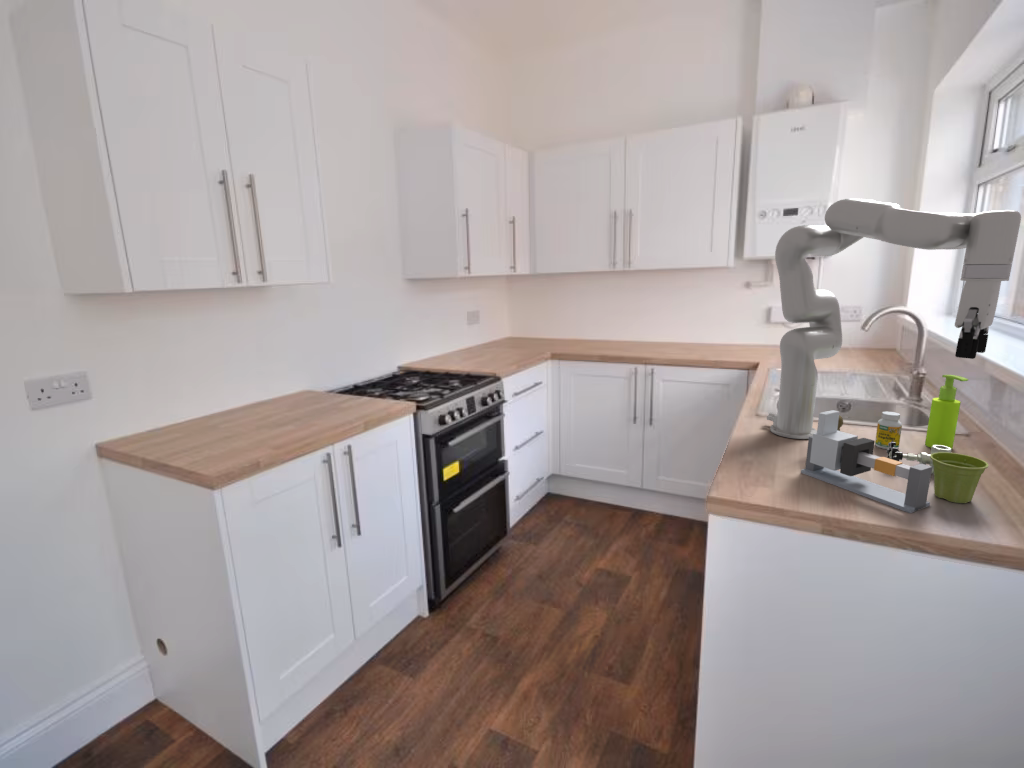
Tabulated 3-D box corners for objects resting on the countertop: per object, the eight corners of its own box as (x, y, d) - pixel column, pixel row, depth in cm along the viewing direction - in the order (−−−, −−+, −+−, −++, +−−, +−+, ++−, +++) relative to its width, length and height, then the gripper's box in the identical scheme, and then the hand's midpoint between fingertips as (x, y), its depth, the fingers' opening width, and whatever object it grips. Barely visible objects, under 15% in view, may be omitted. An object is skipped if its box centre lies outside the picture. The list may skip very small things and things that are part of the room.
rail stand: (800, 472, 126) (804, 437, 124) (819, 467, 129) (823, 433, 127) (910, 513, 105) (916, 471, 103) (929, 505, 107) (936, 465, 106)
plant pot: (934, 504, 108) (940, 465, 106) (917, 486, 117) (923, 450, 115) (990, 510, 105) (998, 470, 103) (968, 491, 114) (975, 454, 112)
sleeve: (809, 462, 123) (815, 413, 121) (829, 457, 126) (835, 409, 124) (834, 470, 118) (840, 419, 115) (854, 465, 121) (860, 415, 118)
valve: (944, 469, 126) (884, 462, 131) (948, 444, 124) (888, 437, 130) (952, 479, 120) (889, 471, 125) (957, 453, 119) (893, 446, 124)
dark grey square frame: (840, 472, 117) (843, 442, 115) (859, 467, 120) (863, 437, 118) (850, 476, 115) (854, 445, 113) (870, 470, 118) (874, 440, 116)
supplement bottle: (900, 446, 142) (905, 412, 140) (896, 451, 138) (902, 417, 136) (876, 442, 145) (881, 409, 143) (872, 447, 142) (877, 413, 140)
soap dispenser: (944, 452, 137) (957, 378, 132) (919, 444, 143) (930, 373, 139) (962, 450, 138) (975, 377, 133) (936, 442, 144) (948, 372, 140)
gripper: (970, 272, 115) (957, 348, 119) (952, 274, 104) (937, 357, 108) (1017, 272, 109) (1001, 352, 113) (1002, 274, 98) (985, 362, 102)
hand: (970, 354), depth 111 cm, fingers open, 9 cm apart
